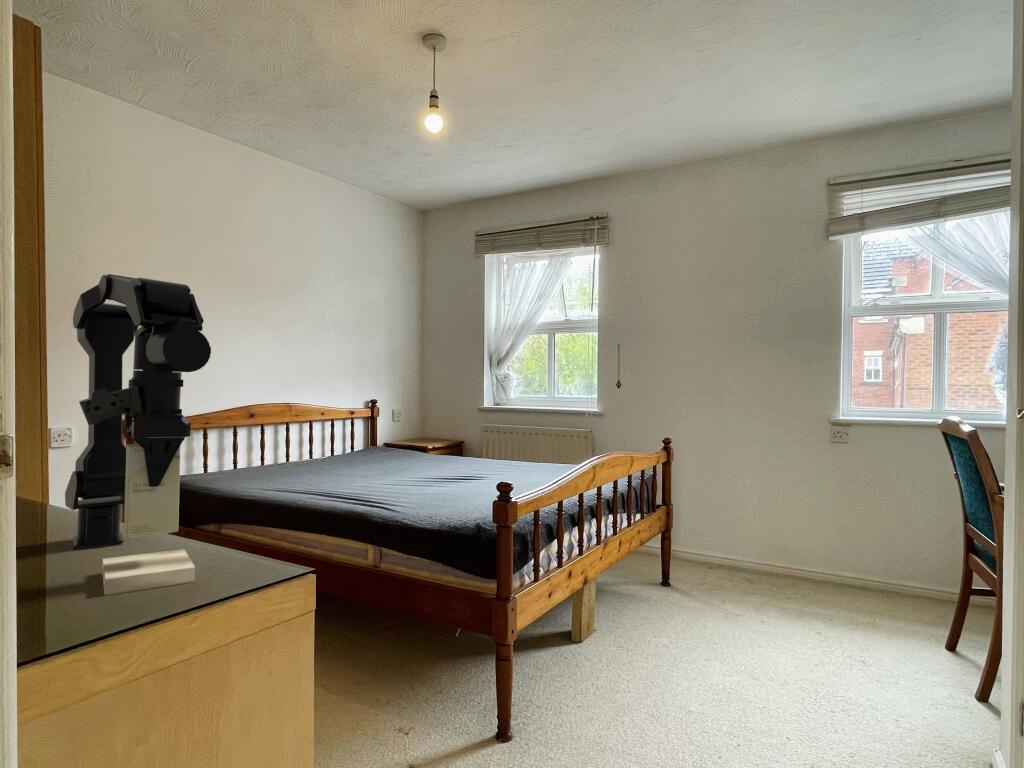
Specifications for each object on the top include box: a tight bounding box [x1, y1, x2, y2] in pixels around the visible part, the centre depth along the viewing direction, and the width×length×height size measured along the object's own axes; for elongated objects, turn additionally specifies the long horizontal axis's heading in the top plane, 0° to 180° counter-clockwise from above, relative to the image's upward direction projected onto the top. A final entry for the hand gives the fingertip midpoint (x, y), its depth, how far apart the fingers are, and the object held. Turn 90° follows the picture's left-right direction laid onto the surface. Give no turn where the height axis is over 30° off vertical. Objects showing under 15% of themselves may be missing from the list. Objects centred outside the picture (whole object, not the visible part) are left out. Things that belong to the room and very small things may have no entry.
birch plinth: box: [101, 548, 196, 596], centre depth 79 cm, size 10×10×2 cm
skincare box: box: [123, 443, 182, 538], centre depth 79 cm, size 6×4×12 cm
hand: (152, 483), depth 79 cm, fingers closed on skincare box, 4 cm apart
